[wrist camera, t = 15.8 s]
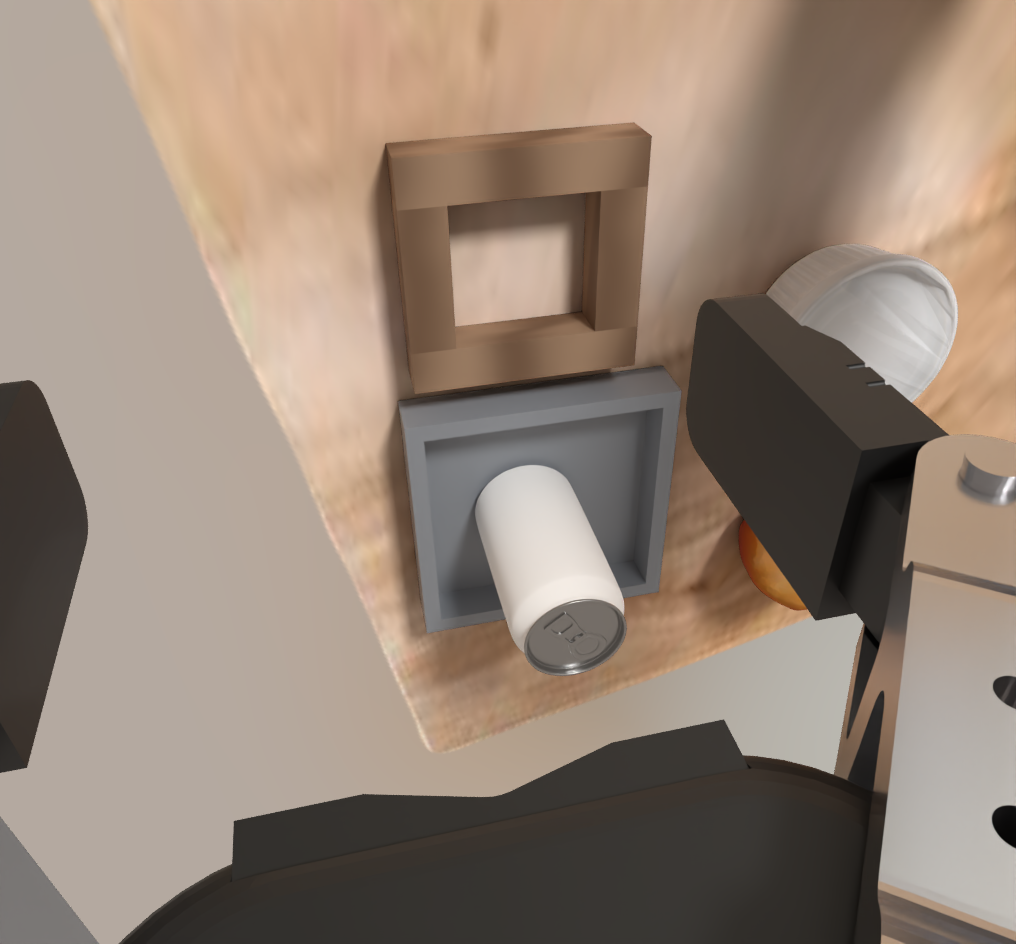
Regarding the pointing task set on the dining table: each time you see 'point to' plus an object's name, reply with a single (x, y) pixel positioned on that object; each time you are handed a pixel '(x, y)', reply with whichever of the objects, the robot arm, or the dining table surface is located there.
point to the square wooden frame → (506, 176)
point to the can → (549, 571)
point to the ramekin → (875, 309)
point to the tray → (547, 442)
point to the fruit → (766, 570)
